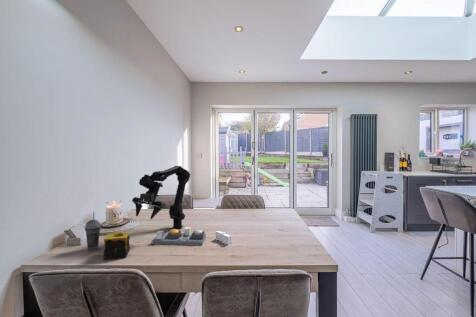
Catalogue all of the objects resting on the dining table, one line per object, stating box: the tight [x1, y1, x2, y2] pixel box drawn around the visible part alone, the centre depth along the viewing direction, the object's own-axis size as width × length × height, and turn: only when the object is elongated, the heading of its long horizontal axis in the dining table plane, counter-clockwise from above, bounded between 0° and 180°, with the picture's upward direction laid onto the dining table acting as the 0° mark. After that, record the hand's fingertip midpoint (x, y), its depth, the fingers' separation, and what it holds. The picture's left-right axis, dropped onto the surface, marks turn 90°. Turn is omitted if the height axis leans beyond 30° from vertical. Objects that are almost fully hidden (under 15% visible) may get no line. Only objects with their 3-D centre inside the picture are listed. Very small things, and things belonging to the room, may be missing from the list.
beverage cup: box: [84, 211, 102, 252], centre depth 128 cm, size 7×7×20 cm
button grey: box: [193, 229, 203, 235], centre depth 142 cm, size 5×5×2 cm
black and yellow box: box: [103, 231, 131, 261], centre depth 122 cm, size 10×10×10 cm
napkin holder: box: [215, 230, 232, 246], centre depth 141 cm, size 15×11×6 cm
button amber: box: [169, 228, 180, 234], centre depth 143 cm, size 5×5×2 cm
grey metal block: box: [156, 230, 165, 240], centre depth 139 cm, size 3×3×4 cm
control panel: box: [151, 230, 207, 246], centre depth 143 cm, size 13×28×4 cm, turn 89°
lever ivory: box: [183, 226, 192, 235], centre depth 146 cm, size 3×3×4 cm
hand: (143, 217), depth 139 cm, fingers open, 9 cm apart
